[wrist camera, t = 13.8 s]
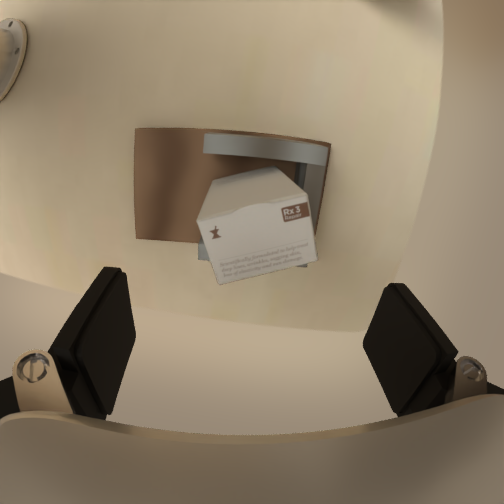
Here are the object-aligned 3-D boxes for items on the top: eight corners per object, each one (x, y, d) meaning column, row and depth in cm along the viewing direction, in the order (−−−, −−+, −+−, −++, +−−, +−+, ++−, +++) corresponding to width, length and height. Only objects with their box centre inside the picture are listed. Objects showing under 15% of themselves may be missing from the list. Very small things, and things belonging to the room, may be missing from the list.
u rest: (140, 233, 29) (122, 256, 24) (140, 128, 24) (118, 130, 19) (308, 245, 30) (322, 270, 25) (326, 142, 26) (346, 147, 21)
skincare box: (224, 221, 27) (215, 293, 16) (210, 176, 25) (189, 221, 14) (287, 206, 27) (321, 268, 16) (277, 160, 25) (308, 192, 14)
